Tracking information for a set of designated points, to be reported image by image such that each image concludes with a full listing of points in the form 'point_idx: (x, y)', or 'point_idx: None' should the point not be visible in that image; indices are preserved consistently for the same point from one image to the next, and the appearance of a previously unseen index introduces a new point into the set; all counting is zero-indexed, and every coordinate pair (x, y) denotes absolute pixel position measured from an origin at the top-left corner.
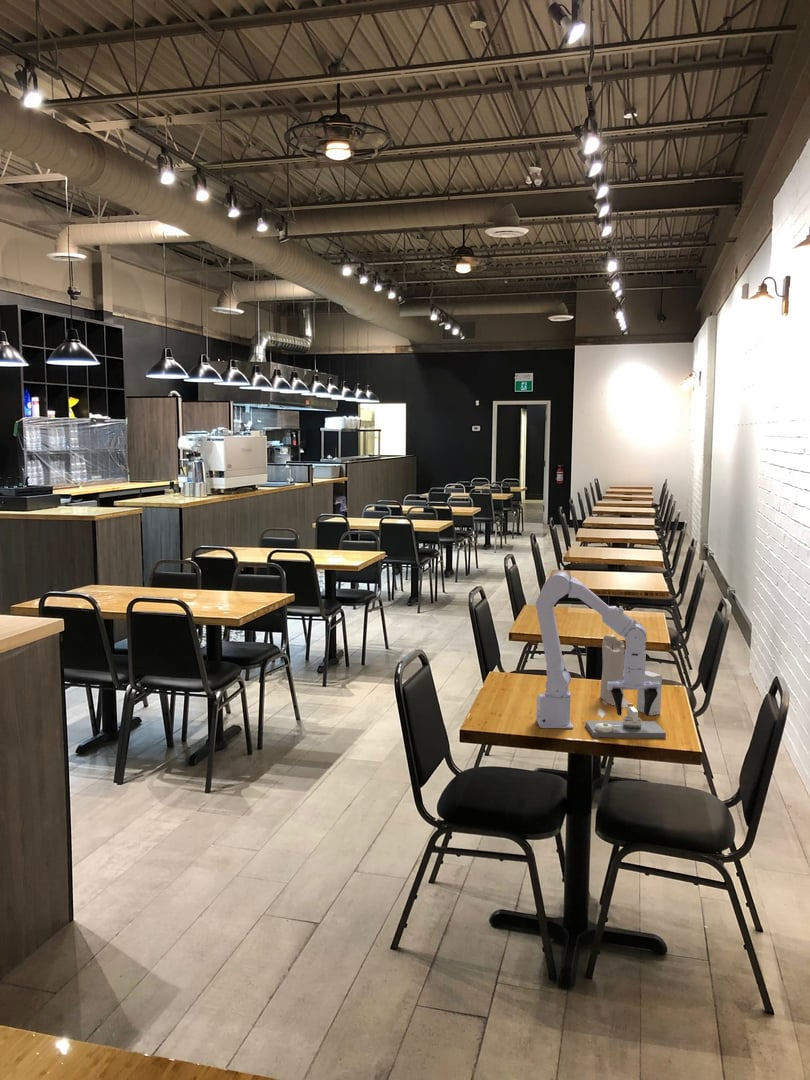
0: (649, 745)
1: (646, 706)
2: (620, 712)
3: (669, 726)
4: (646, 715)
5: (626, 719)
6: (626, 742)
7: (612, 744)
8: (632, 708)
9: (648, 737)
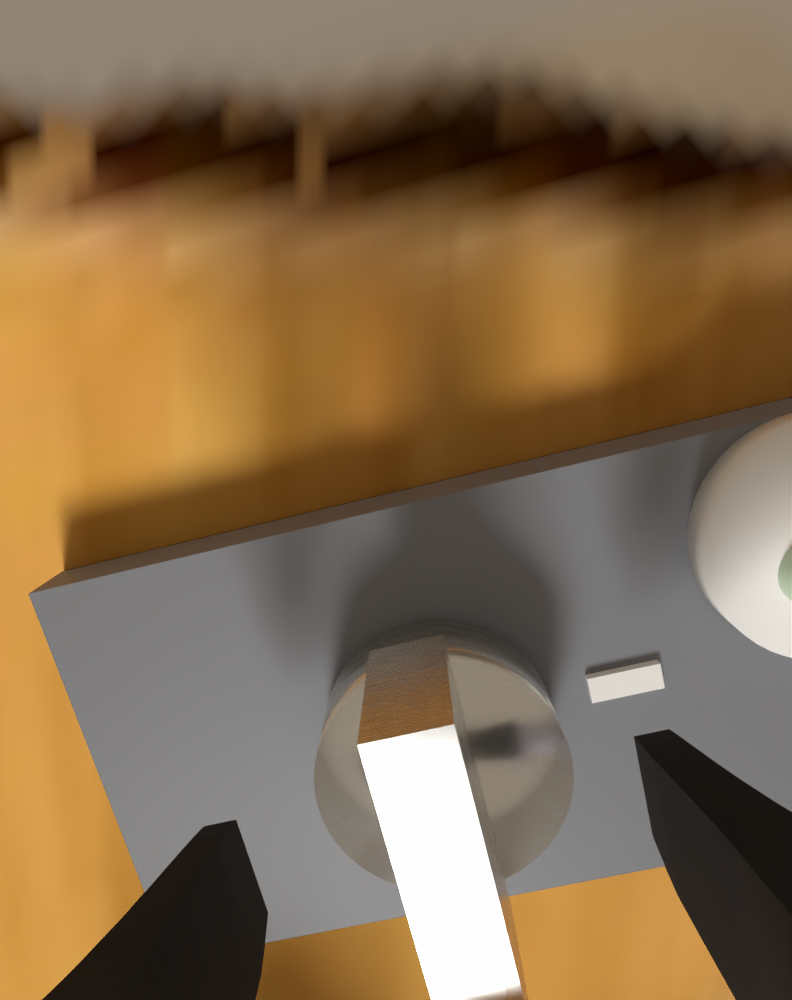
0: (240, 263)
1: (194, 971)
2: (673, 750)
3: (45, 940)
4: (230, 823)
5: (530, 732)
6: (516, 300)
7: (700, 169)
8: (459, 904)
9: (251, 528)
